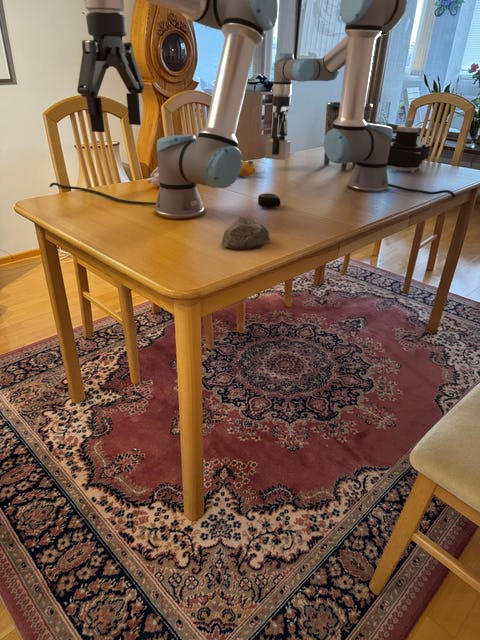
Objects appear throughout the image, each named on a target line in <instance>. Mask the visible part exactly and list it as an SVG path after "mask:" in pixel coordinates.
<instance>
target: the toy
mask: <svg viewBox="0 0 480 640" xmlns="http://www.w3.org/2000/svg"><path fill="white" fill-rule="evenodd" d="M255 173H256V169H255V163H254V161H253V160H248V161H246V160H242V168H241V171H240V174H239V176H238V177H242V178H243V177H245V178H246V177H249V176H252V175H254V174H255Z"/></svg>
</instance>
